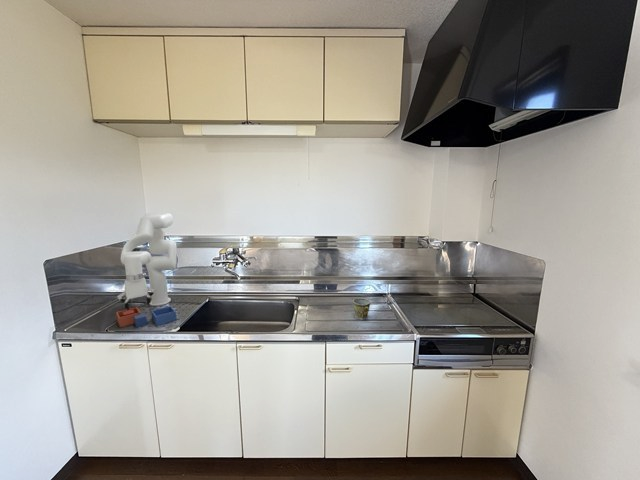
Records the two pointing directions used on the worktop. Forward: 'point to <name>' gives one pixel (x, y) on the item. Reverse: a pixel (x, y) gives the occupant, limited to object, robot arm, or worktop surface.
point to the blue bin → (163, 315)
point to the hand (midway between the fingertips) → (138, 306)
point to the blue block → (140, 320)
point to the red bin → (127, 317)
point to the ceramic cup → (361, 308)
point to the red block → (128, 312)
